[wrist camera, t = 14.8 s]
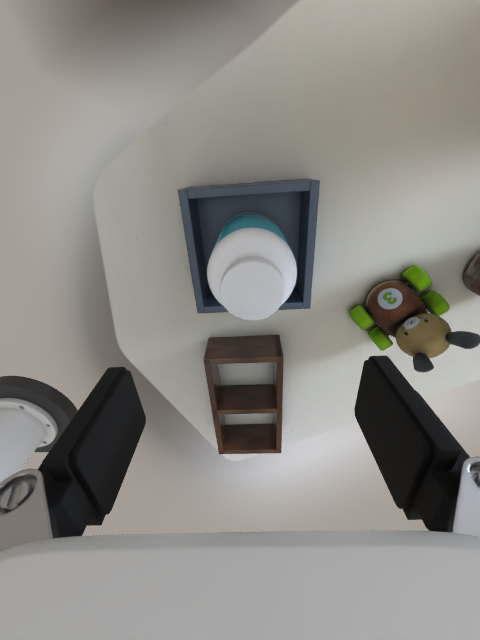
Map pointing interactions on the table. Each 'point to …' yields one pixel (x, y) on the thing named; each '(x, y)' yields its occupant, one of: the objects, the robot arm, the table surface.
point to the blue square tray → (264, 197)
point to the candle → (473, 275)
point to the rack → (245, 394)
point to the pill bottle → (251, 267)
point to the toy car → (411, 319)
